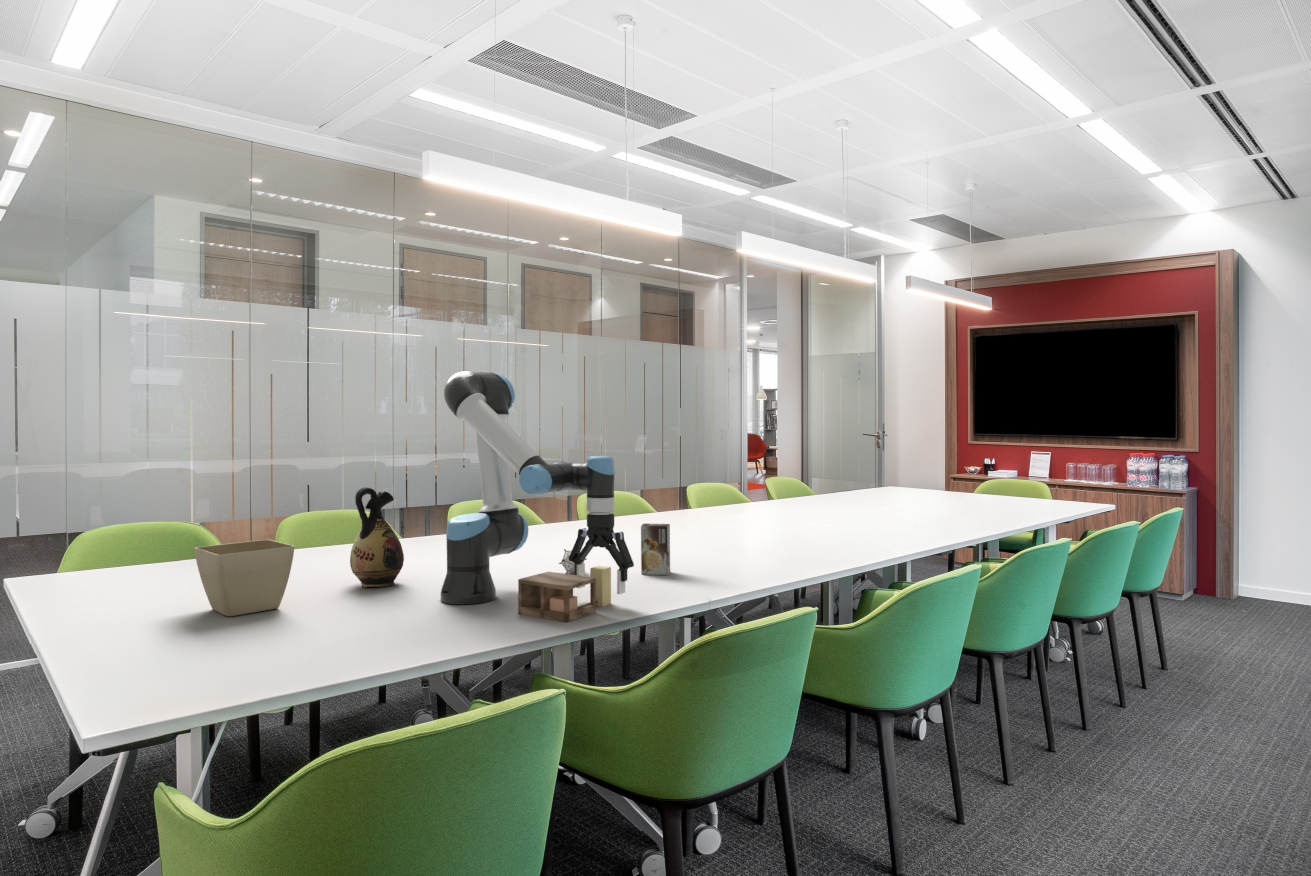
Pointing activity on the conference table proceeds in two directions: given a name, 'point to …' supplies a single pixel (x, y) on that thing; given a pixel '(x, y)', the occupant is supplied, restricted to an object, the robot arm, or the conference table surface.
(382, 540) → the ceramic jug
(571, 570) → the game die
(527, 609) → the shelf
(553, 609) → the block
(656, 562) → the coffee box
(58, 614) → the conference table surface
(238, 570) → the flower pot
